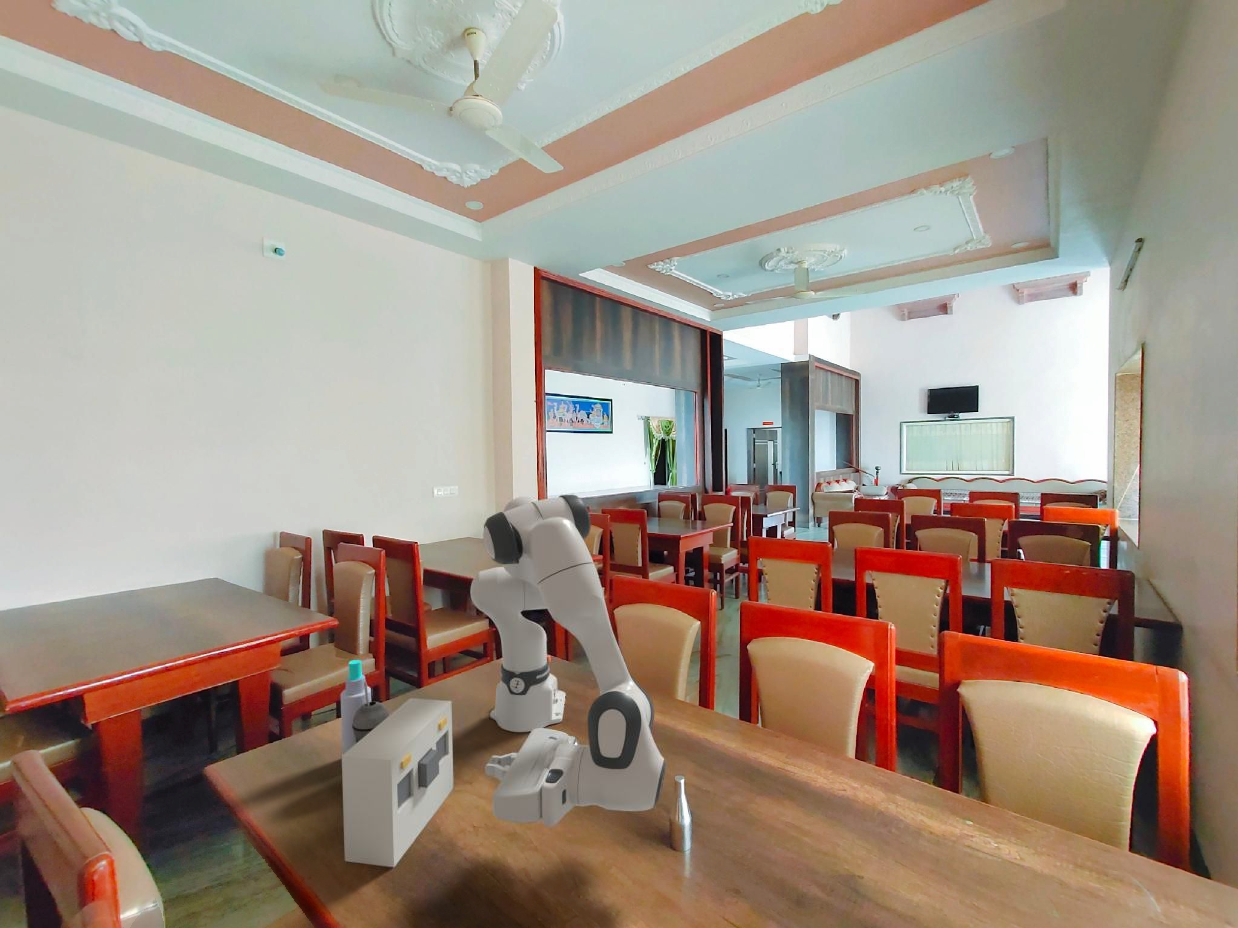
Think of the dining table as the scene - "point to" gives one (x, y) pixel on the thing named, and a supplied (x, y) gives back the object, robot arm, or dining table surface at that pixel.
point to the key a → (403, 789)
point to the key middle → (428, 768)
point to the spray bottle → (352, 702)
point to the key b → (441, 746)
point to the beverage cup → (368, 717)
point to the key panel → (394, 782)
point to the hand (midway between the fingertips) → (488, 764)
